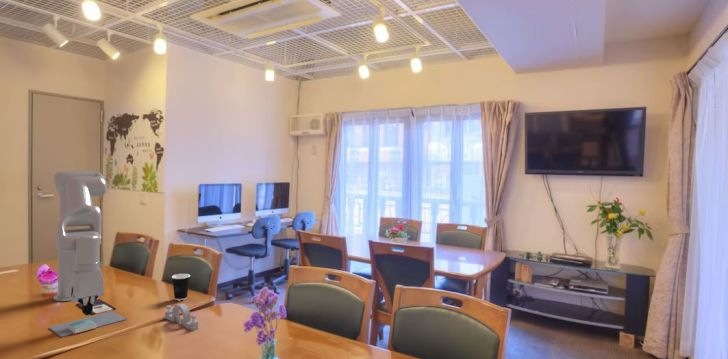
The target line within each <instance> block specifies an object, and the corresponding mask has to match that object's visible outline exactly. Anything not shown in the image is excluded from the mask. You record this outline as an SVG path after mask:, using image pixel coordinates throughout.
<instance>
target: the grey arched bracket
mask: <svg viewBox="0 0 728 359" xmlns="http://www.w3.org/2000/svg"><path fill="white" fill-rule="evenodd" d="M165 307H166V309H167V311H164V319H166V320H168V321H170V322H173V323H177V324H180V325H182V327H184V328H186V329H188V330H191V331H195V330H198V329H199V321H197V320H196V318H197V315H196V314H192V315H191V311H190V309H189V307H188V306H187V305H186V304H185V303H179V304H176V305H174V306H173V308H172V305H170V304H168V305H166V306H165ZM171 308H172V310H170V309H171ZM180 312H181V314H182V317H180ZM191 320H192V321H191Z"/></svg>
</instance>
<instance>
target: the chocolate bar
mask: <svg viewBox="0 0 728 359" xmlns="http://www.w3.org/2000/svg"><path fill="white" fill-rule="evenodd" d="M87 303H88V300H87ZM75 305H76V306H77V307H78V308H79V309H82V304H81V303H79V302H77V303H76V304H75ZM116 309H117V308H116V307H115V306H113V305H111V304H109V303H107V302H106V301H105V300H102V299H100V298H97V299H96V300H95V301H94V303H93V311H91V315H90V316H96V315H100V314H104V313H108V312H112V311H116Z"/></svg>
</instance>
